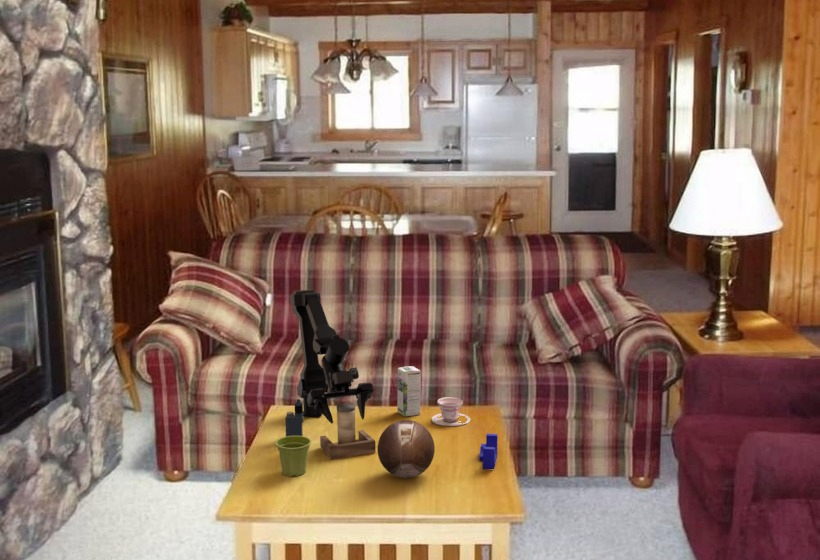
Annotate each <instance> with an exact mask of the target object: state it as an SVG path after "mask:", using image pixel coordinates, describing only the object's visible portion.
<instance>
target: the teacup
mask: <svg viewBox="0 0 820 560" xmlns="http://www.w3.org/2000/svg"><path fill="white" fill-rule="evenodd" d="M463 402H464V401H463V400H462V399H461V398H458V397H453V396H452V397H451V396H449V397H448V396H446V397H441V398H438V400H437V405H438V406H439V409H440V410H441V412H440V413H438V414H435V415H433V416H432V417H431V419H430V420H431V422H432V423H433V424H434V425H438V426H443V427H460V426H464V425H467V424H469V423H470V421H471V418H470V416H468V415H467V414H463V413H460V412H459V411H460V409H461V406H462V405H463V404H464V403H463ZM459 415H460V416H465V418H467V421H466V422H465V423H463V424H462V423H458V422H461V421H459V420H458V419H457V418H458V417H459ZM440 416H442V418H437V417H440ZM456 420H458V421H456Z"/></svg>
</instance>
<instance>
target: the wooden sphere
mask: <svg viewBox="0 0 820 560" xmlns="http://www.w3.org/2000/svg"><path fill="white" fill-rule="evenodd" d="M435 448H436V446H435V442H434V438H433V436H432V434H431V432H430V431H429V429H428V428H427V427H426V426H424V425H423V424H421V423H419V422H417V421H415V420H410V419H402V420H398V421H395V422H392V423H391V424H389V425H388V426H387V427H385V429H384V430H383V432H382V433H381V434H380V437H379V439H378V442H377V456H378V459H379V462H380V463H381V465H382V467H383V469H385V471H387V472H388V473H389V474H390V475H393V476H395V477H396V478H397V477H398V478H402V479H410V478H415V477H418V476H420V475H421V474H423V473H424V472H426V470H428V468H429V467H430V466H431V464H432V462H433V459H434V457H435V451H436V450H435Z"/></svg>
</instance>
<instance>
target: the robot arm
mask: <svg viewBox="0 0 820 560" xmlns="http://www.w3.org/2000/svg"><path fill="white" fill-rule="evenodd" d="M321 298H322V297H321V294H320V292H315V291H314V289H301V290H294V291H293V292H292V294H290V295H289V303H290V306H291V308H292V312H293V314H294V315H295V316H296V317H297V319H298V323H299V331H300V338H301V339H300V341H301V349H302V357H303V358H302V359H303V367H302V369H301V372H300V374H299V376H300V377H299V380H298V383H297V386H296V392H297V393H296V394H297V396H298V397H299V398H300V399H302V400H303V401H302V403H303V417H307V418H308V417H309V418H320V417H322V416H324V418H326V419H327V421H328V422H329V423H330V424H334V420H333V416H332V415H333V414H332V413H331V409H330V407H329V403H328V399H329V400H331V399H339V398H346V397H352V396H355V398H356V404H357V407H358V408H357V409H358V412H359V415H360V418H361V420H364V419H365V415H366V412H365V411H366V402H368V400H369V399H371V398H372V395H373V393H374V392H375V388H374V384H373V383H371V381H369V382H368V381H367V382H360V383H358V385H357V387H356V388H350V387H352V386H353V385H352V383H354V380H357V379H359V377H360V374H359V371H358V368H357V367H350V368H349V370H346V369H345V368H344V366H343V363H344V362H345V360H346V357H347V356H348V353H349V350H350V345H349V343H348V341H347V340H345V339H344V338H341V337H340V334H337V333H338V332H337V331H336V329H335V328H334V327H333V328H332V327H331V326H330V324H329V322H328V319H327V316H326V314H325V311H324V308H323V304H322V301H321V300H322V299H321ZM319 355H320V356H322V355H323V357H322V359H321V360H320V361H319ZM320 362H321V364H320Z"/></svg>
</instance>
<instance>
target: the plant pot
mask: <svg viewBox="0 0 820 560" xmlns="http://www.w3.org/2000/svg"><path fill="white" fill-rule="evenodd" d="M311 444H312V440H311V438H309V437H307V436H304V435H303V436H287V437H286V436H283V437H280V438H278V439H277V440H276V441H275V445H276V447H277V450H278V452H279V458H280V464H281V471H282V474H283V475H284V476H288V477H293V476H297V477H300V476H302V475H304V474H305V473H306V471H307V464H308V463H307V462H308V453H309V449H310V445H311ZM299 475H300V476H299Z"/></svg>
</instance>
